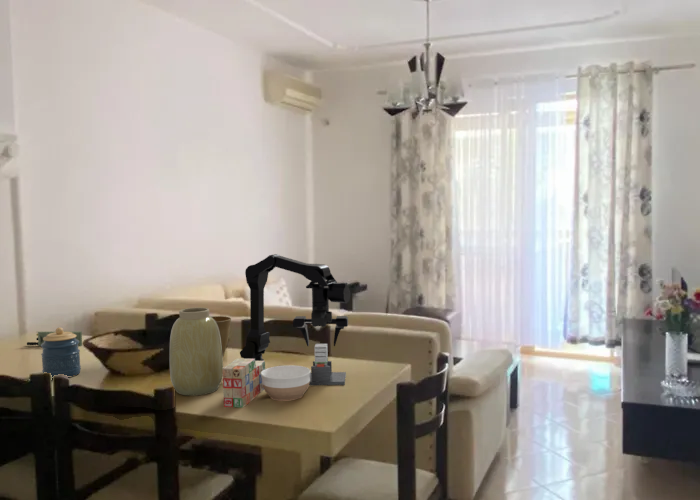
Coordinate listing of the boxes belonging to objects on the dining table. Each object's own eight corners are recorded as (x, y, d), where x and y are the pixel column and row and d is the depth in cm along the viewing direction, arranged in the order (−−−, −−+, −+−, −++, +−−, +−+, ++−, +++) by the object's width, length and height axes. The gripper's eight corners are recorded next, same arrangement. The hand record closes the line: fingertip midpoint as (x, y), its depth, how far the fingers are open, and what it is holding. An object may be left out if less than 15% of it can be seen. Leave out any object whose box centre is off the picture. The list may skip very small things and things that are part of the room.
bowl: (316, 400, 203) (316, 375, 202) (265, 405, 198) (264, 380, 198) (305, 386, 218) (304, 363, 217) (257, 391, 214) (257, 367, 213)
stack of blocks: (248, 387, 219) (247, 351, 218) (266, 387, 218) (265, 351, 217) (223, 407, 198) (222, 367, 197) (242, 408, 197) (241, 368, 196)
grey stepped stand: (297, 385, 219) (296, 365, 218) (301, 375, 231) (300, 356, 230) (344, 385, 218) (344, 364, 218) (345, 375, 230) (345, 355, 230)
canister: (80, 368, 248) (77, 323, 246) (82, 376, 236) (79, 328, 235) (42, 373, 242) (39, 326, 241) (42, 381, 231) (39, 332, 229)
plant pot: (239, 358, 259) (238, 318, 257) (205, 365, 249) (204, 324, 248) (221, 352, 270) (219, 314, 269) (187, 358, 260) (186, 319, 259)
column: (315, 371, 220) (314, 347, 220) (316, 367, 225) (315, 343, 225) (327, 371, 220) (326, 347, 219) (328, 367, 225) (327, 343, 225)
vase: (179, 382, 225) (176, 306, 223) (228, 382, 225) (225, 305, 223) (163, 398, 208) (160, 314, 206) (217, 397, 208) (213, 314, 206)
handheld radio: (79, 347, 286) (25, 347, 288) (83, 345, 290) (29, 345, 292) (78, 332, 286) (24, 332, 288) (82, 330, 289) (28, 331, 291)
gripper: (290, 305, 216) (291, 351, 217) (346, 305, 215) (347, 351, 216) (294, 300, 227) (295, 344, 228) (347, 299, 226) (348, 343, 227)
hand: (321, 346), depth 225 cm, fingers open, 9 cm apart
